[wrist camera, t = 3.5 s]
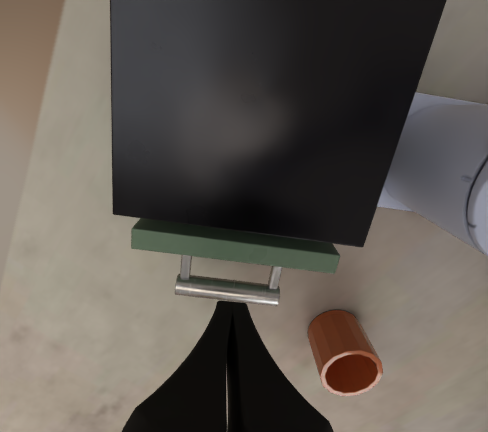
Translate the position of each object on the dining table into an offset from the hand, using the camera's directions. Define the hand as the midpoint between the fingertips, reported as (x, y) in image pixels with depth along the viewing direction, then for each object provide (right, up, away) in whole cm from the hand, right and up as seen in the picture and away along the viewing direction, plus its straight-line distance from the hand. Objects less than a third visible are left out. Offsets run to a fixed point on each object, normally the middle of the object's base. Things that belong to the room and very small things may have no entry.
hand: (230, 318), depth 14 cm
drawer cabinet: (+1, +13, +6) cm, 14 cm away
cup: (+9, -6, +13) cm, 17 cm away
